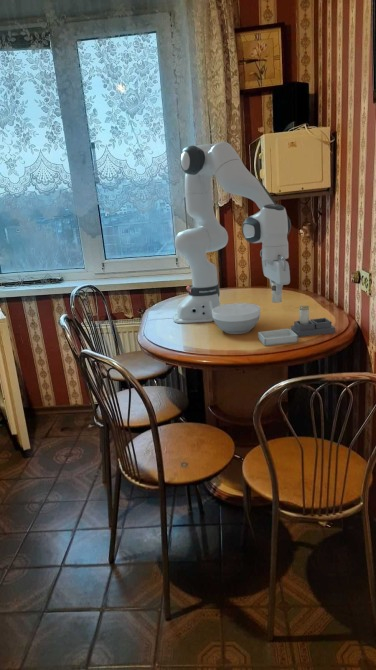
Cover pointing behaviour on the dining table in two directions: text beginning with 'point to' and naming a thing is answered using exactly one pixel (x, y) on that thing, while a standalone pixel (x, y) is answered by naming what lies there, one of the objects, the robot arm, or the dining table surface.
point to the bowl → (236, 317)
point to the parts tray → (277, 337)
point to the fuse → (304, 315)
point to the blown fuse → (275, 297)
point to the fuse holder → (313, 327)
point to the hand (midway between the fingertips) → (276, 293)
